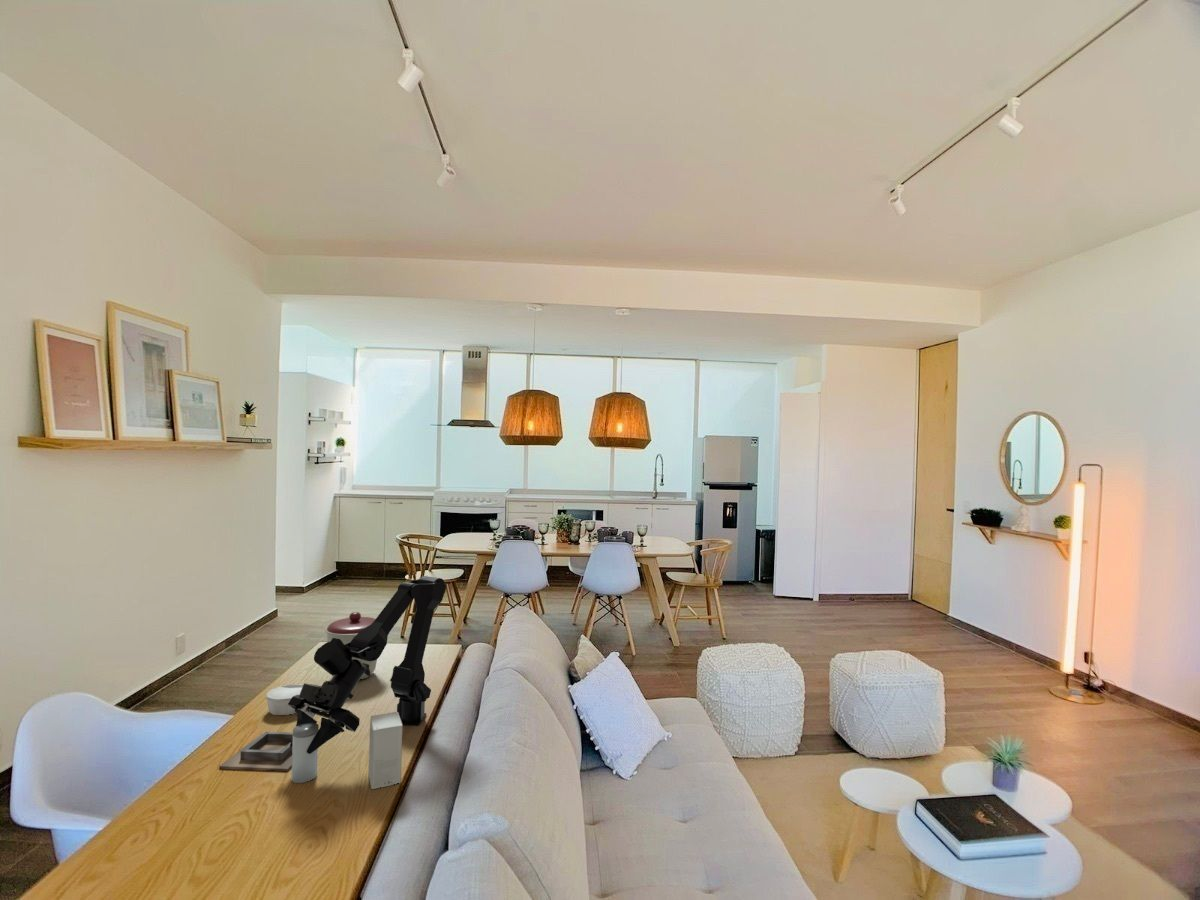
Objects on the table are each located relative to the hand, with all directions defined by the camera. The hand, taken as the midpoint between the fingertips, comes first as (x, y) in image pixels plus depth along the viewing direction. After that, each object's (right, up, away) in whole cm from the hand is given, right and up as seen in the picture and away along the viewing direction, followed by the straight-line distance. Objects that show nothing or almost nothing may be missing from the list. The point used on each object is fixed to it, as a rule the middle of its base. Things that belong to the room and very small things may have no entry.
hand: (299, 750), depth 131 cm
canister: (-14, -8, +61) cm, 63 cm away
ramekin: (-22, -7, +36) cm, 42 cm away
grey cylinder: (0, -7, +1) cm, 7 cm away
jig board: (-12, -7, +11) cm, 18 cm away
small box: (+18, -7, +2) cm, 20 cm away
